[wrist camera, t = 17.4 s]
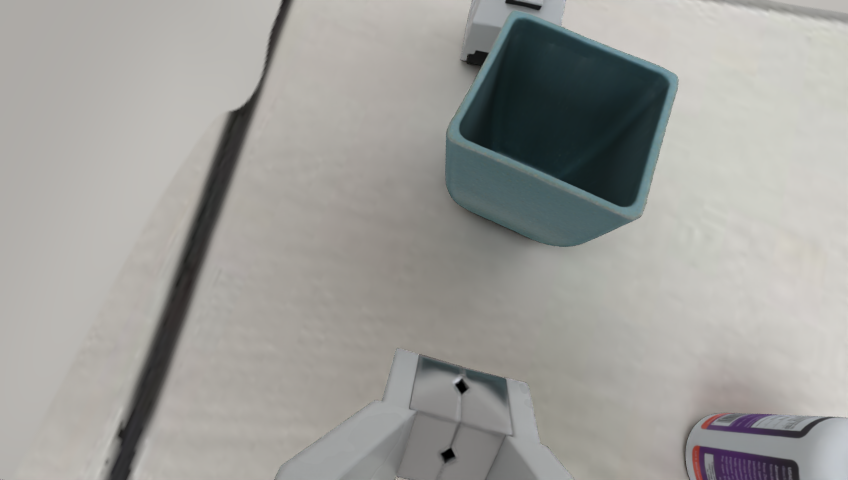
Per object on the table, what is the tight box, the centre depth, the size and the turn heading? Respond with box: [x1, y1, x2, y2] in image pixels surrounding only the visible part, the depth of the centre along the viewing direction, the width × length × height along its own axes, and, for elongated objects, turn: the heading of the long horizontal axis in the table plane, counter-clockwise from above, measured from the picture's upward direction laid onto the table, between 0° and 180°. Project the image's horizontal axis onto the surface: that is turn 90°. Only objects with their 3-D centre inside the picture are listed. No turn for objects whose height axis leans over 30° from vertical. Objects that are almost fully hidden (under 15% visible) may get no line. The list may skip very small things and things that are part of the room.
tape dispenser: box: [460, 0, 566, 66], centre depth 26 cm, size 6×7×10 cm
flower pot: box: [445, 10, 678, 247], centre depth 22 cm, size 9×9×9 cm
